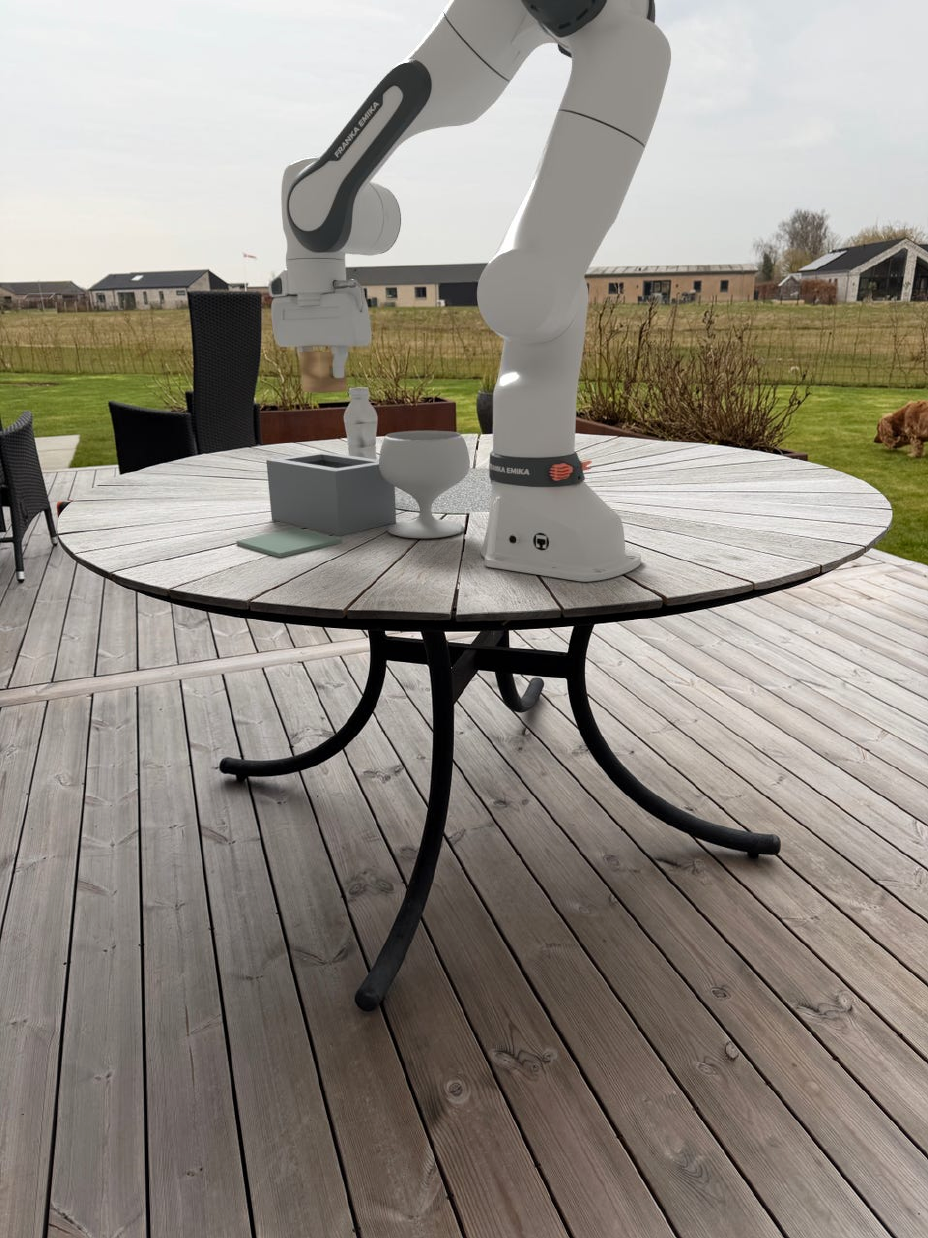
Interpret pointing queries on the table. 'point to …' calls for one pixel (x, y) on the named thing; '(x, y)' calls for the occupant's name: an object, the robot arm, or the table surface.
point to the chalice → (424, 475)
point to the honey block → (320, 373)
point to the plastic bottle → (361, 424)
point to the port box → (330, 493)
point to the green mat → (288, 542)
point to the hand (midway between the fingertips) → (324, 377)
